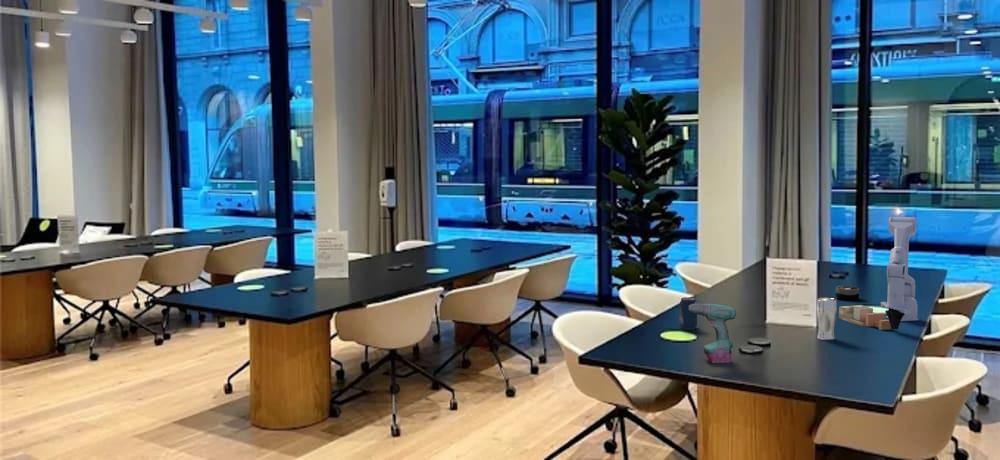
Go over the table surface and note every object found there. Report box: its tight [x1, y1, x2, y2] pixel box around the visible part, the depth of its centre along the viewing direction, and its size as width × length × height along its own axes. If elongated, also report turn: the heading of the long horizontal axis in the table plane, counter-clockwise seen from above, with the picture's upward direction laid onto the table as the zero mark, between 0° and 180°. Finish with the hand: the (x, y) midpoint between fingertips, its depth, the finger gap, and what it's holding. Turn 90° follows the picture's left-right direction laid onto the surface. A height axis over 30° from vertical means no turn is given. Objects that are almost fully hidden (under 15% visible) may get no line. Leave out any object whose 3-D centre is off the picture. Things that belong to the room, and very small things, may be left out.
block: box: [852, 306, 874, 324], centre depth 327 cm, size 6×4×6 cm, turn 100°
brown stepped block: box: [865, 312, 892, 331], centre depth 317 cm, size 7×8×5 cm
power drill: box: [689, 303, 737, 364], centre depth 273 cm, size 7×16×20 cm, turn 95°
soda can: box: [679, 296, 698, 330], centre depth 322 cm, size 7×7×12 cm
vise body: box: [838, 305, 866, 327], centre depth 328 cm, size 10×15×5 cm
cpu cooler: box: [835, 285, 860, 302], centre depth 376 cm, size 10×6×10 cm
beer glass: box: [816, 297, 838, 341], centre depth 301 cm, size 7×7×15 cm
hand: (894, 328), depth 309 cm, fingers closed
